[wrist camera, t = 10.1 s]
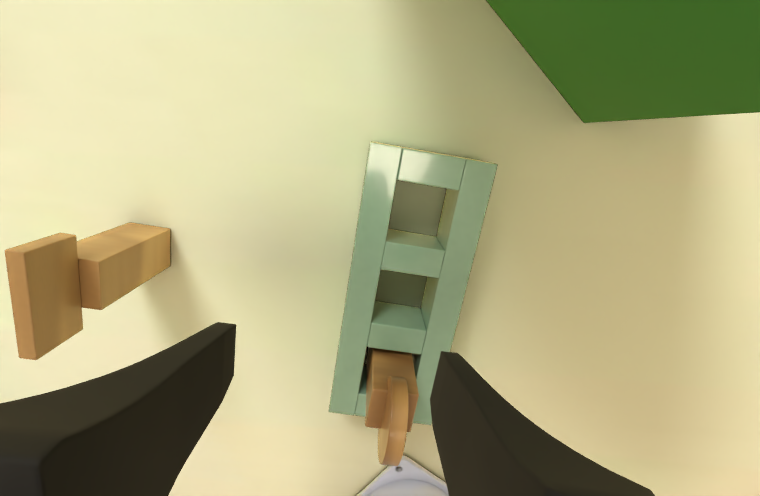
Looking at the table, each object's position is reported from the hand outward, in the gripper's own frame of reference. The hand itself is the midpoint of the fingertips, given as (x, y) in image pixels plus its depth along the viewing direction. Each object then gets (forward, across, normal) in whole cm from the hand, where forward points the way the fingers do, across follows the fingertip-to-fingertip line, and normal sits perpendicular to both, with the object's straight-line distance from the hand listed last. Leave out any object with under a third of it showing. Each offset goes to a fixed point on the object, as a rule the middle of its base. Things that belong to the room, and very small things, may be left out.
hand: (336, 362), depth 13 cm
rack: (+10, -3, +1) cm, 11 cm away
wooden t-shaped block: (+10, +12, +1) cm, 16 cm away
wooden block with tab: (+10, -3, +5) cm, 12 cm away
